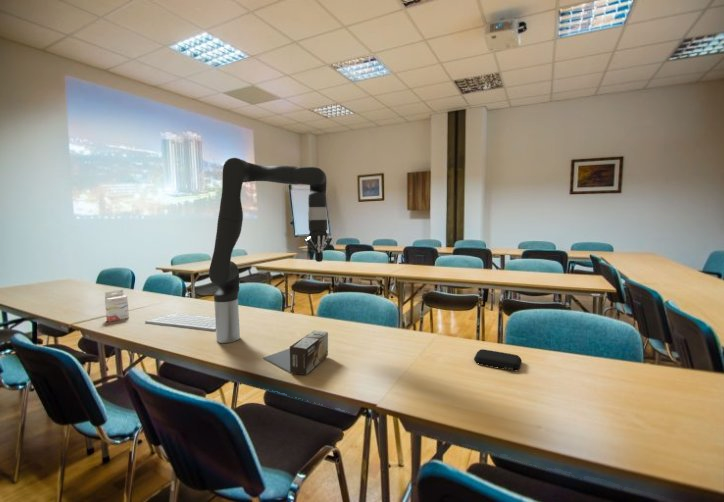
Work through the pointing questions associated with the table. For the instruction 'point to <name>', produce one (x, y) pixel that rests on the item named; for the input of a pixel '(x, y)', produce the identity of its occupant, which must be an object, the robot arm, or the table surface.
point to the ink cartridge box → (116, 306)
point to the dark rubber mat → (281, 360)
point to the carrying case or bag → (498, 359)
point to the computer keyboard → (185, 322)
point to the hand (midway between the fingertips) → (319, 261)
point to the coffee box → (308, 352)
